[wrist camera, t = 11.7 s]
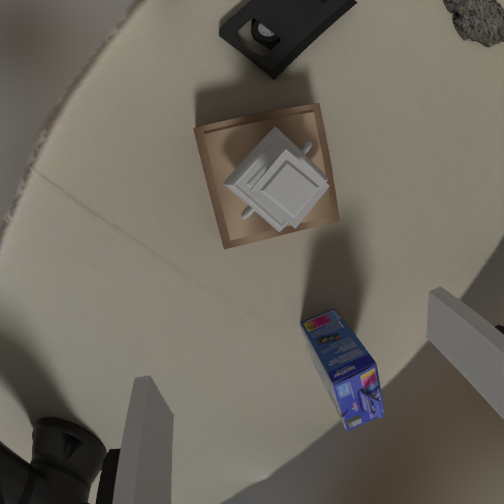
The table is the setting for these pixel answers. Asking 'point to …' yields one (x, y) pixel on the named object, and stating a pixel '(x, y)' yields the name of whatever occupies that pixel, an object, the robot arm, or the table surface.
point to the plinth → (237, 149)
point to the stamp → (278, 181)
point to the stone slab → (478, 20)
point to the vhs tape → (283, 28)
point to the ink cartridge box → (344, 369)
